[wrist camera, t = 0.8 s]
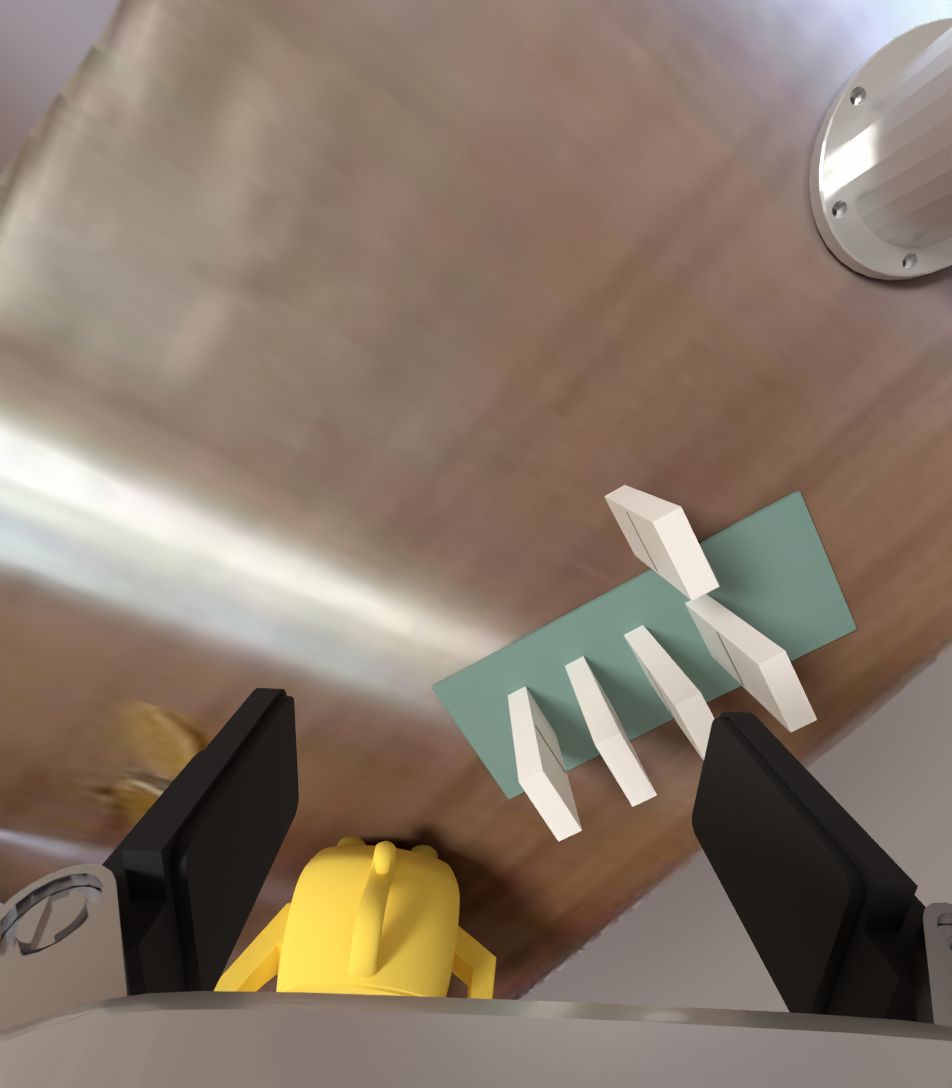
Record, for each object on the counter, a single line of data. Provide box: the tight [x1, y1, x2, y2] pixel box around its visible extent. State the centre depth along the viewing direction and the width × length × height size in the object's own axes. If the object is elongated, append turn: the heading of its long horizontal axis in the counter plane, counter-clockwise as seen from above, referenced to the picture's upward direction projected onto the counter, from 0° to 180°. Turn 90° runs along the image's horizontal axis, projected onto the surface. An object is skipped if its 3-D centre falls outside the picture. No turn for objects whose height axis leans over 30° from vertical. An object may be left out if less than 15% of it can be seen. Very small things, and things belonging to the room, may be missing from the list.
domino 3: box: [604, 485, 719, 601], centre depth 29 cm, size 2×5×9 cm, turn 31°
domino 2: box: [565, 656, 657, 806], centre depth 31 cm, size 2×5×9 cm, turn 30°
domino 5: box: [685, 594, 817, 732], centre depth 30 cm, size 2×5×9 cm, turn 30°
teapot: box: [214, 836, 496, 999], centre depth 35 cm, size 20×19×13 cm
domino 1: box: [508, 686, 582, 841], centre depth 32 cm, size 2×5×9 cm, turn 31°
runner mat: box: [432, 491, 857, 799], centre depth 35 cm, size 30×12×1 cm, turn 120°
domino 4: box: [624, 625, 714, 761], centre depth 31 cm, size 2×5×9 cm, turn 31°
